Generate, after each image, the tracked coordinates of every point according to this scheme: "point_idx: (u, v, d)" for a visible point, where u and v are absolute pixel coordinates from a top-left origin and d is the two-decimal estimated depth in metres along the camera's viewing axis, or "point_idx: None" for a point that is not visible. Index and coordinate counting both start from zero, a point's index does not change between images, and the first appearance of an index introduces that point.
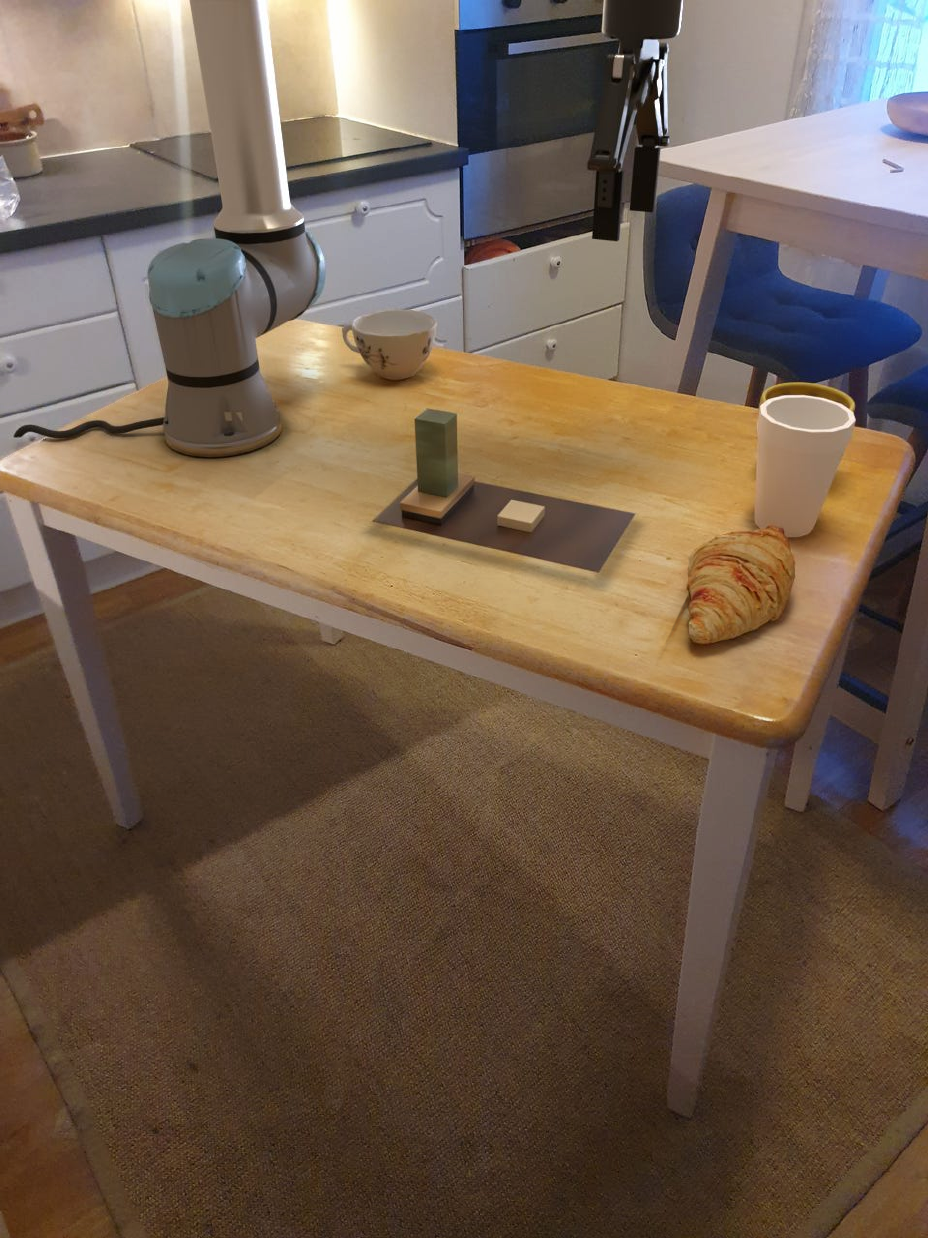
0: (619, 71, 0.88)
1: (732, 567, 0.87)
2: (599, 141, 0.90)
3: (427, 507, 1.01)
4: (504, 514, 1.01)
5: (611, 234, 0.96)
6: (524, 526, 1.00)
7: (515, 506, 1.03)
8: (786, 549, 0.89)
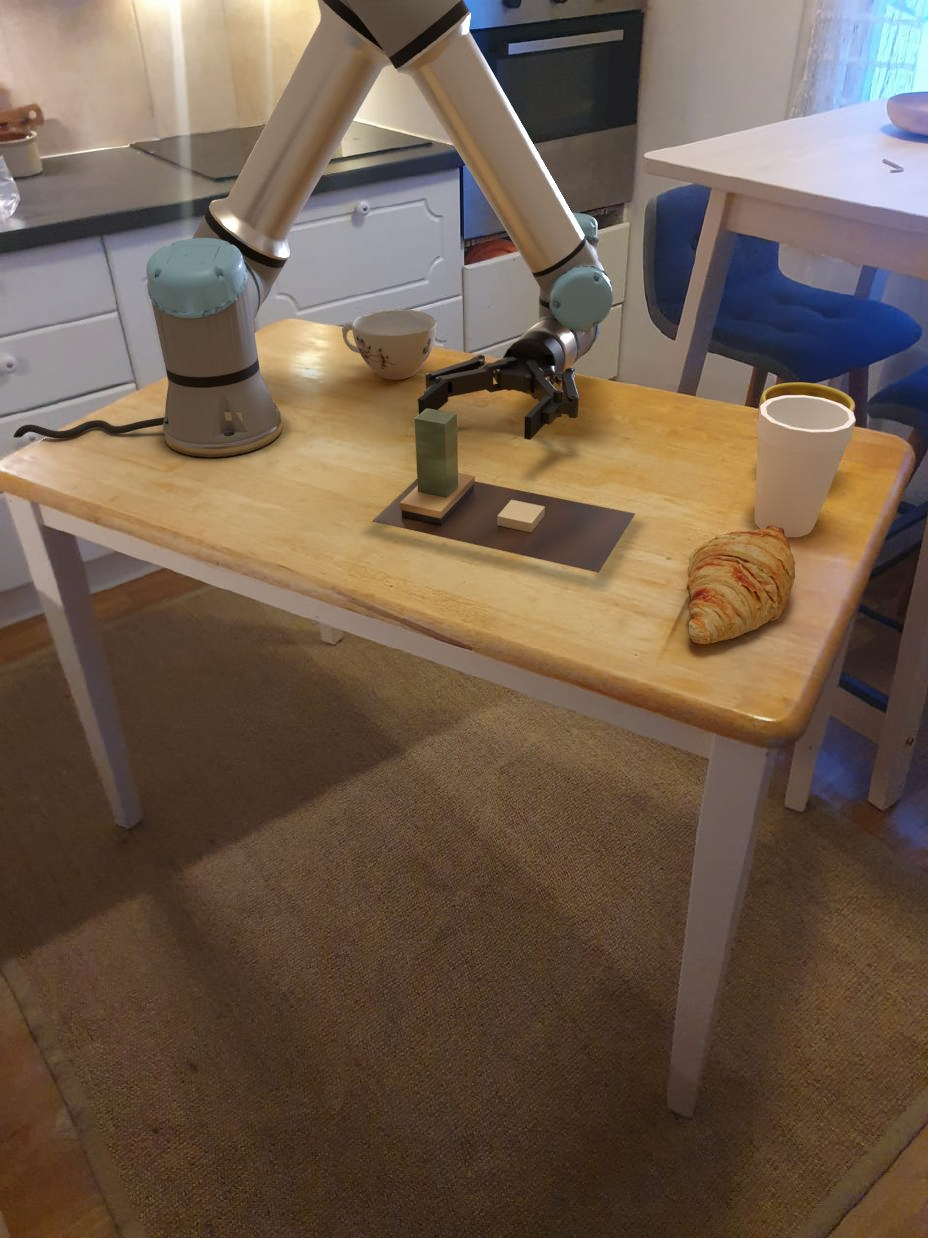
0: None
1: (732, 568, 0.87)
2: None
3: (427, 507, 1.01)
4: (504, 514, 1.01)
5: (532, 432, 1.07)
6: (524, 526, 1.00)
7: (515, 506, 1.03)
8: (786, 549, 0.89)
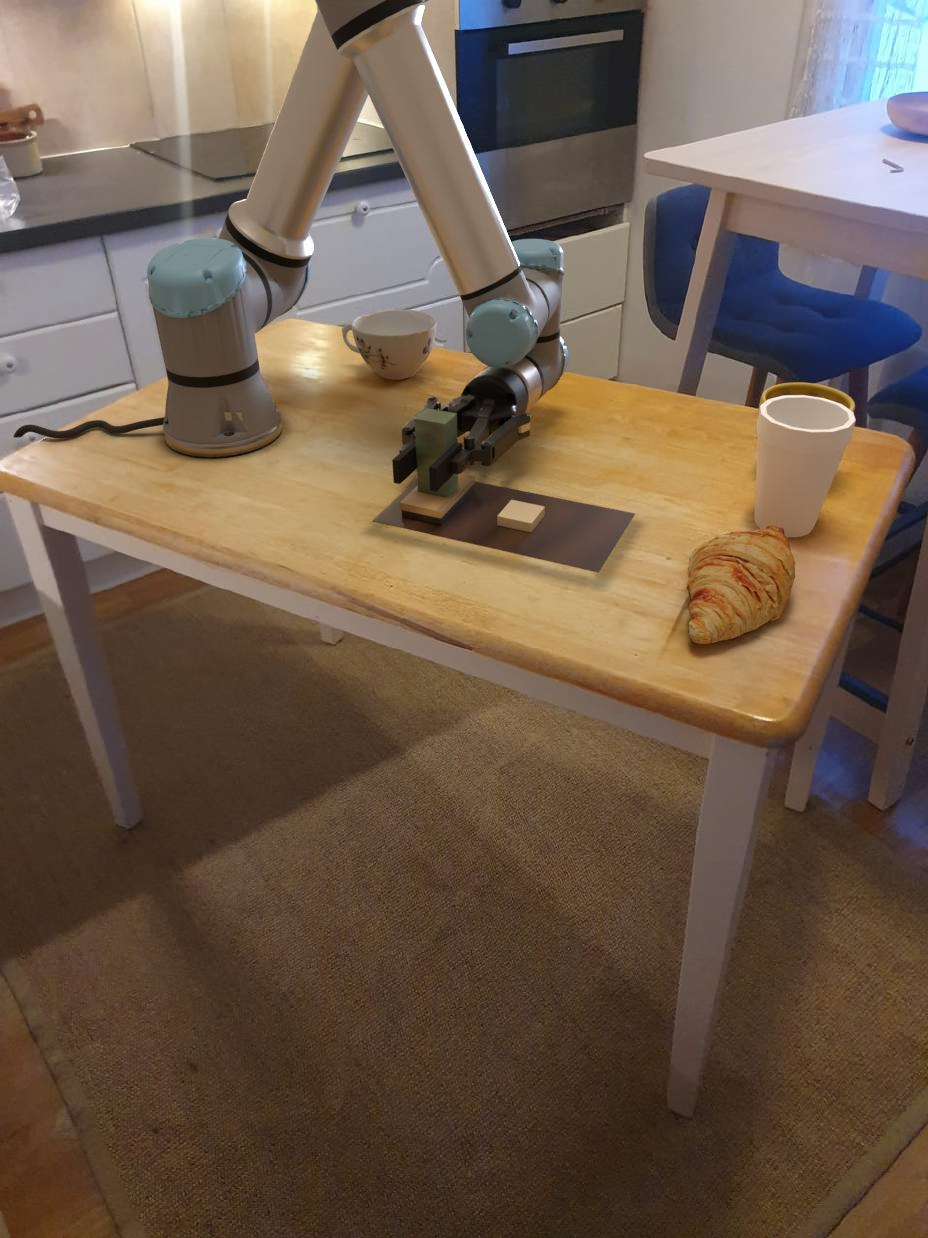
0: (523, 430, 1.08)
1: (732, 568, 0.87)
2: (497, 444, 1.03)
3: (427, 507, 1.01)
4: (504, 514, 1.01)
5: (438, 483, 0.98)
6: (524, 526, 1.00)
7: (515, 506, 1.03)
8: (786, 549, 0.89)
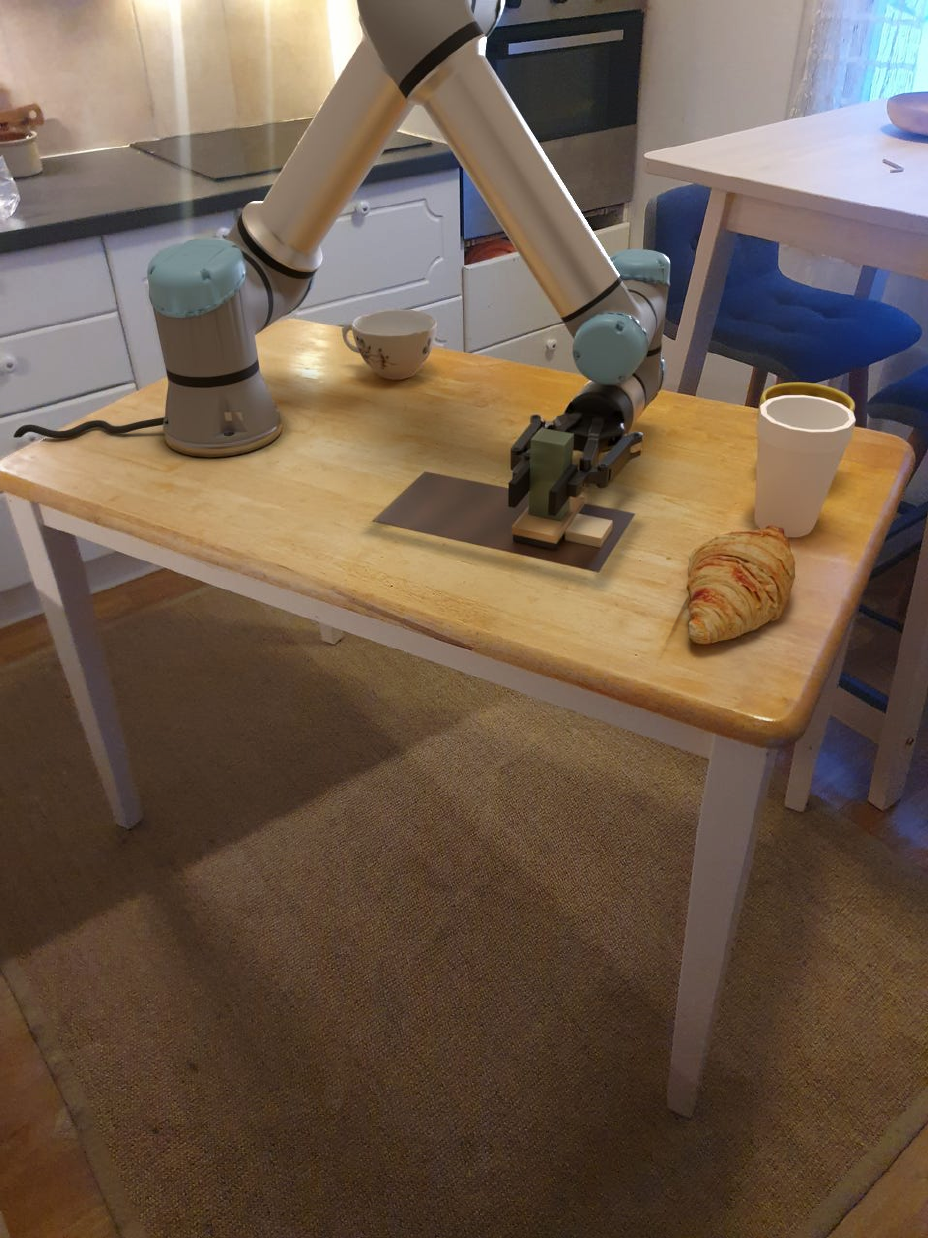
0: (635, 449, 1.03)
1: (732, 568, 0.87)
2: (613, 465, 0.98)
3: (542, 531, 0.97)
4: (572, 529, 0.98)
5: (557, 507, 0.94)
6: (593, 541, 0.97)
7: (583, 520, 1.00)
8: (786, 549, 0.89)
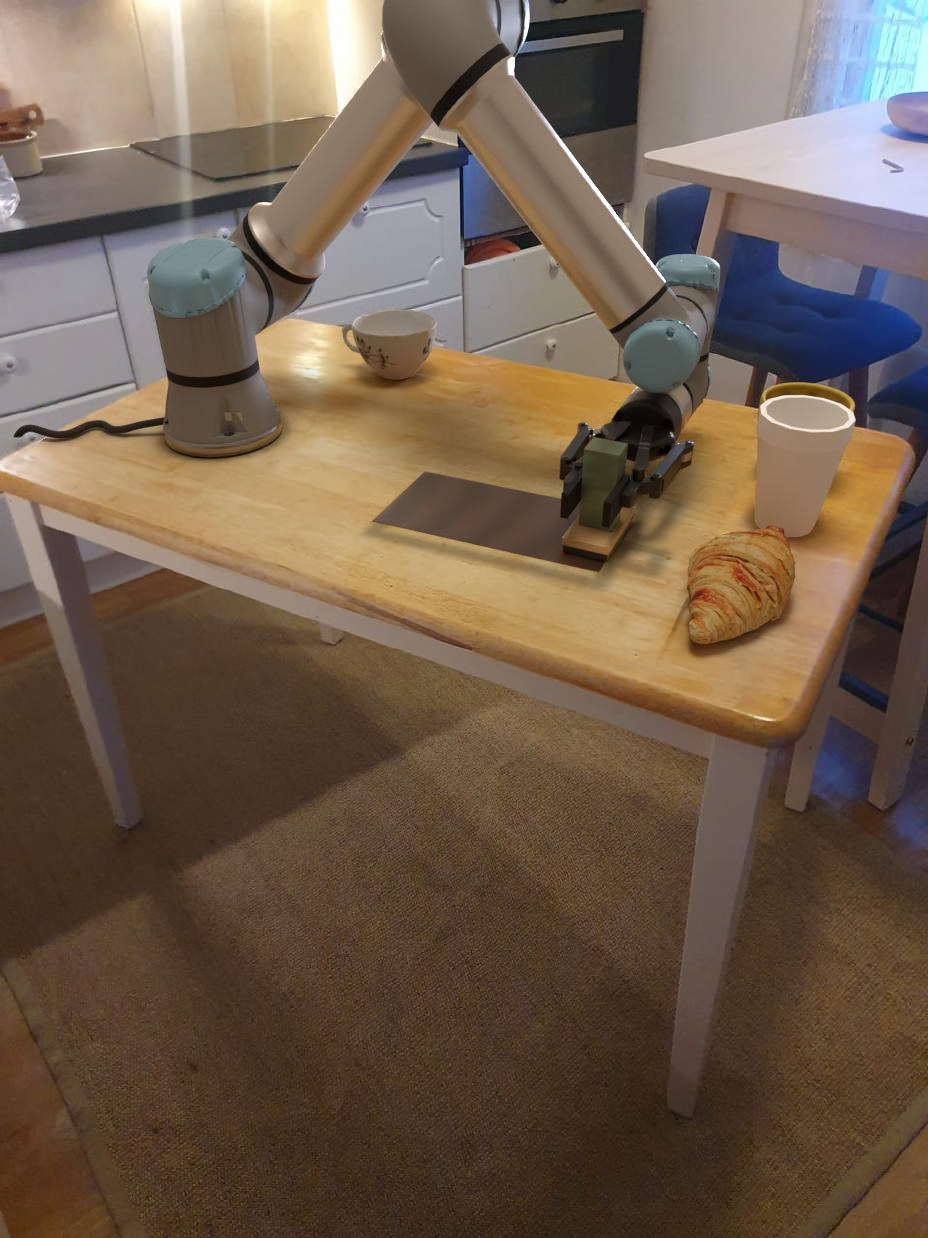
0: (686, 459, 1.01)
1: (732, 568, 0.87)
2: (666, 475, 0.96)
3: (593, 543, 0.95)
4: None
5: (611, 519, 0.92)
6: None
7: None
8: (786, 549, 0.89)
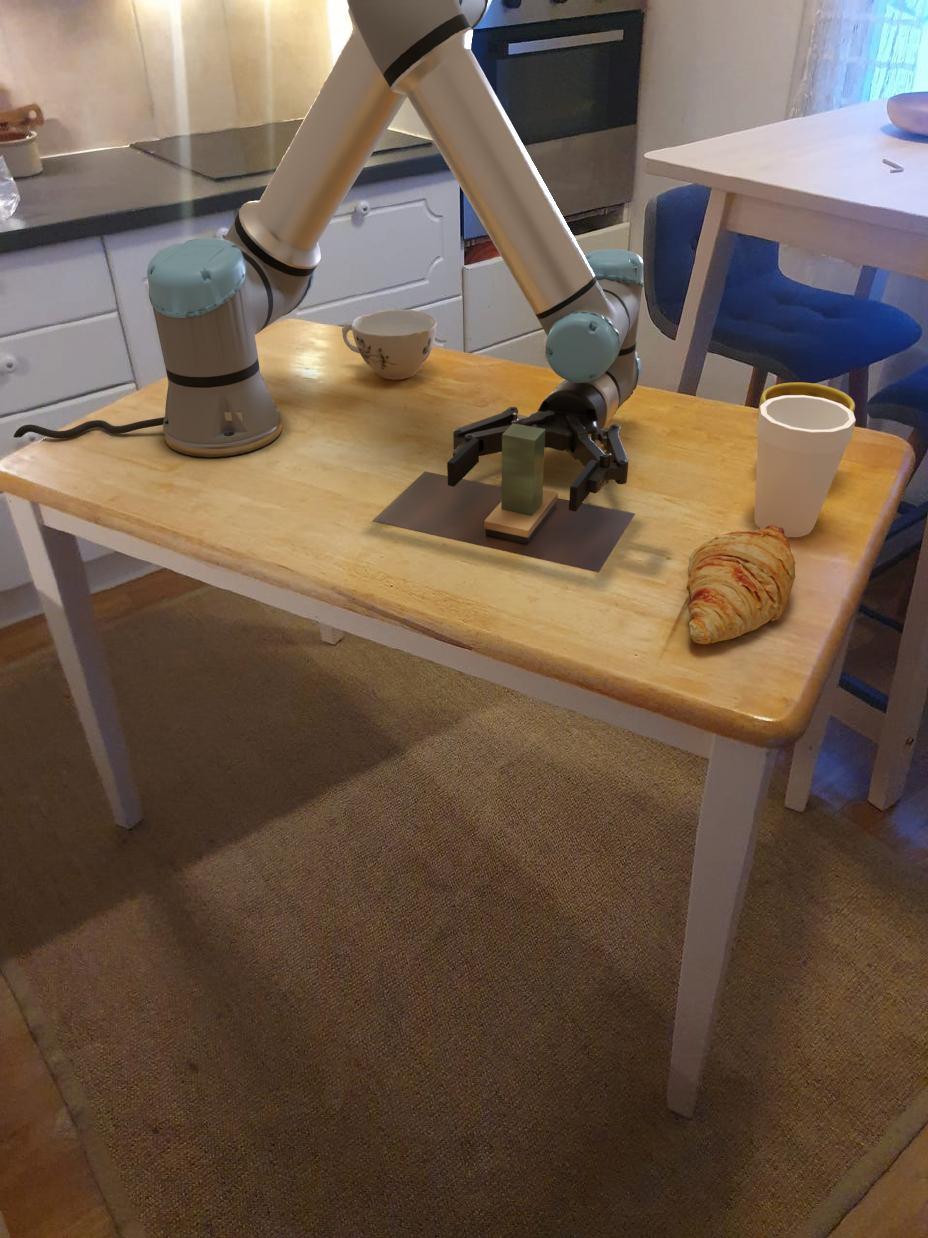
0: None
1: (732, 568, 0.87)
2: None
3: (514, 526, 0.98)
4: None
5: (578, 503, 0.95)
6: None
7: None
8: (786, 549, 0.89)
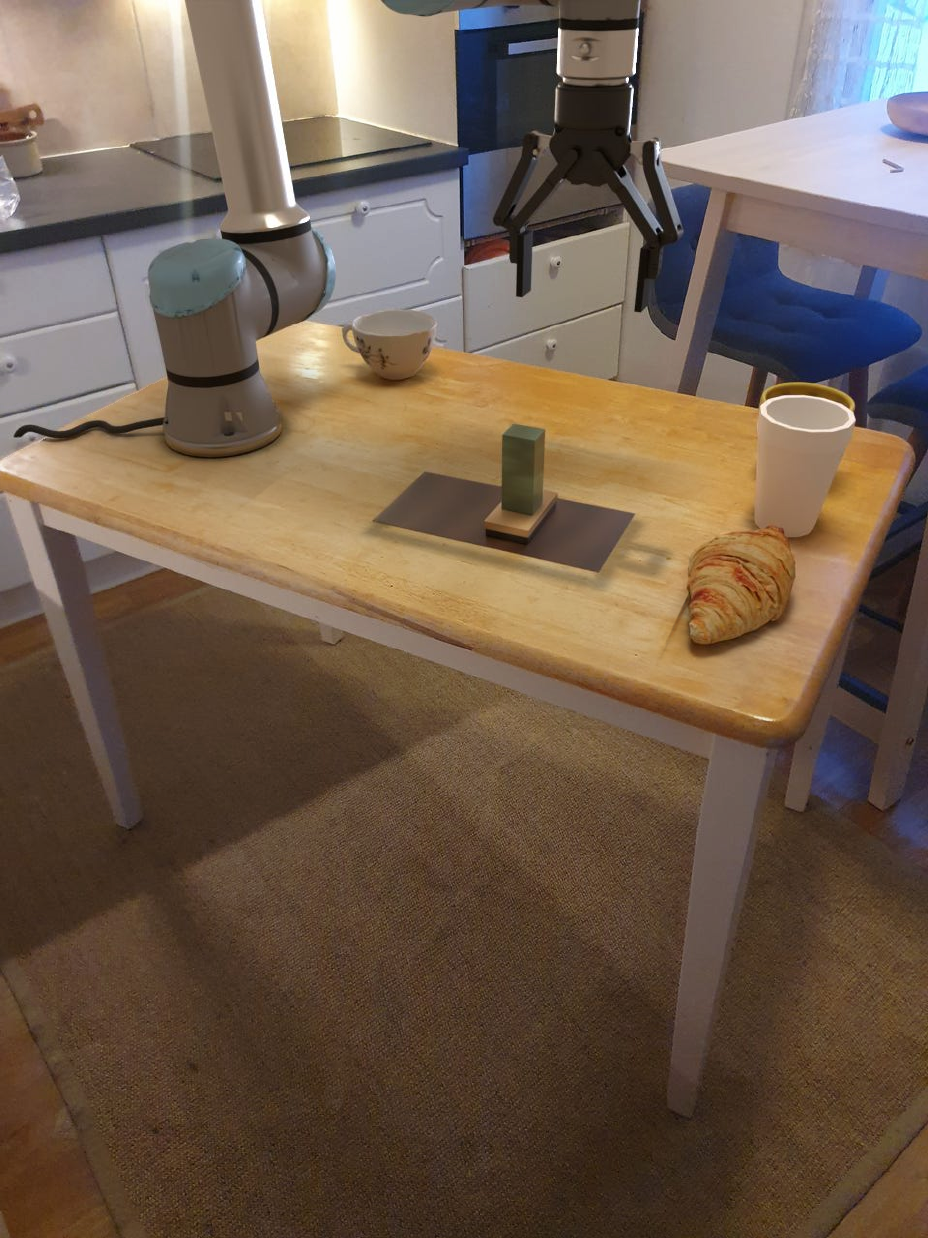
0: None
1: (732, 568, 0.87)
2: None
3: (514, 526, 0.98)
4: None
5: None
6: None
7: None
8: (786, 549, 0.89)
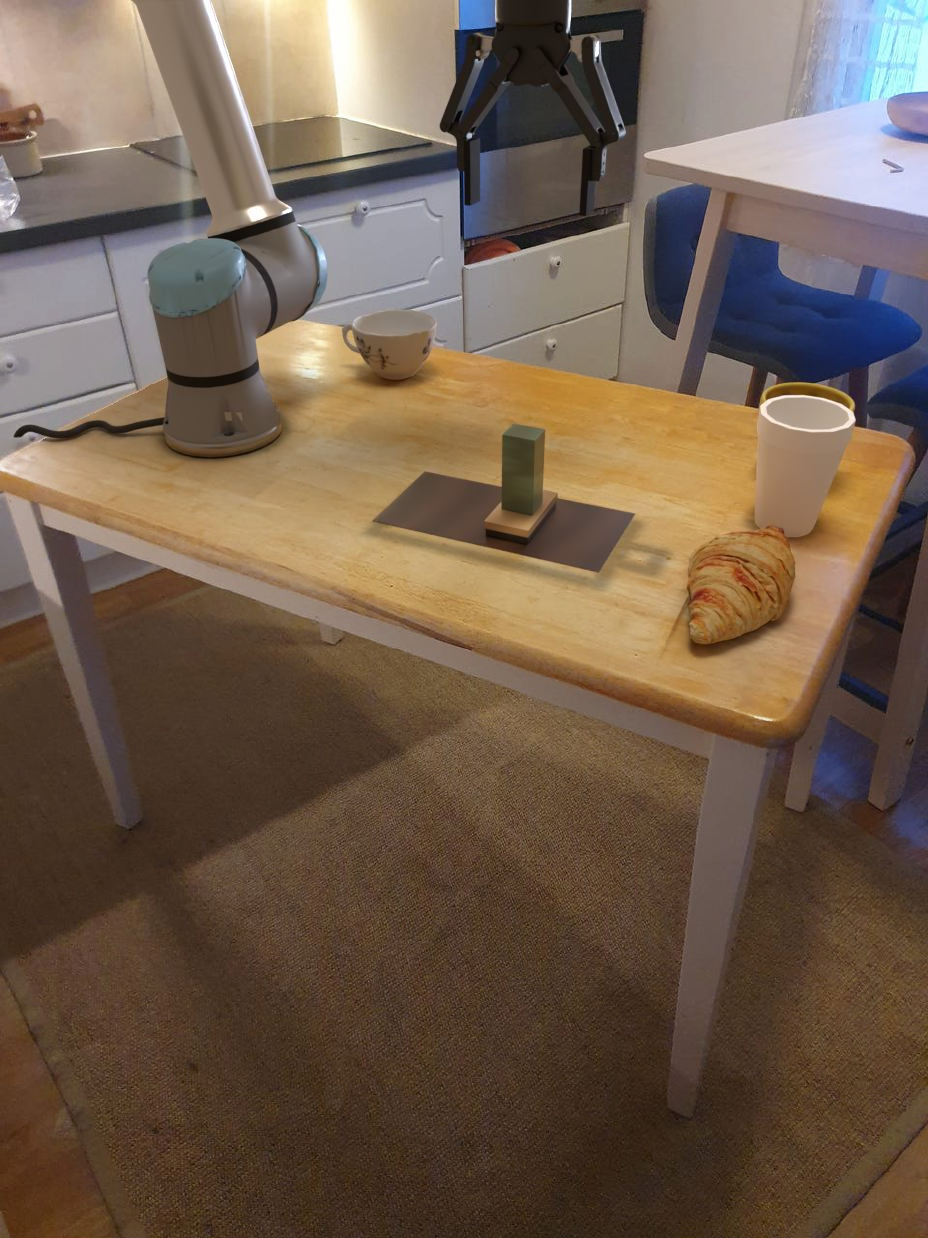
0: None
1: (732, 568, 0.87)
2: None
3: (514, 526, 0.98)
4: None
5: None
6: None
7: None
8: (786, 549, 0.89)
